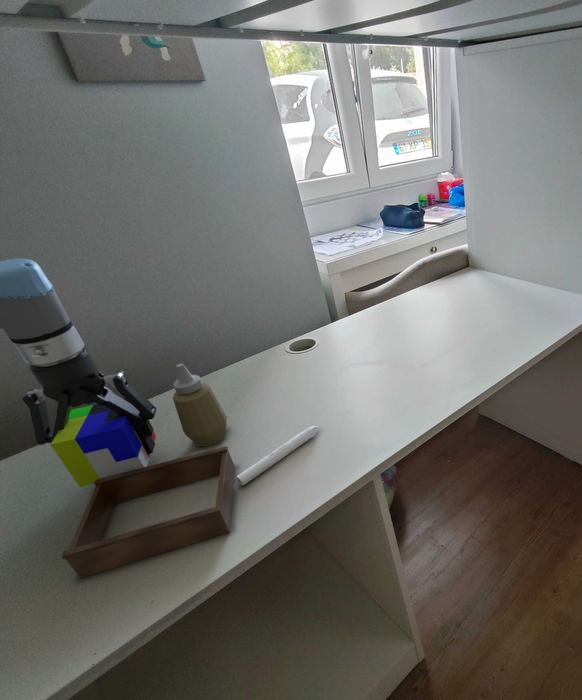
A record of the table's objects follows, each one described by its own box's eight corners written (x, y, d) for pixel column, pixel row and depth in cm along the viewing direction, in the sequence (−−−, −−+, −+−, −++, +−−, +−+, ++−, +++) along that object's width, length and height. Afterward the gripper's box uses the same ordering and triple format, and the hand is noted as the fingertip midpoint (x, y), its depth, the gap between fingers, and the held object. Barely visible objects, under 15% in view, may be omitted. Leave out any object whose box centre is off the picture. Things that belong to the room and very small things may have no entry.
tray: (79, 579, 66) (61, 556, 64) (109, 501, 79) (95, 479, 76) (230, 532, 72) (219, 510, 70) (236, 467, 85) (227, 445, 82)
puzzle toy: (145, 470, 80) (121, 427, 75) (80, 487, 78) (50, 444, 72) (156, 436, 89) (135, 395, 83) (97, 450, 86) (71, 409, 80)
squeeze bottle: (180, 447, 91) (144, 374, 81) (208, 422, 97) (178, 352, 88) (213, 453, 89) (180, 379, 80) (240, 427, 95) (212, 356, 86)
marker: (316, 428, 94) (314, 419, 93) (323, 431, 93) (320, 423, 92) (237, 483, 82) (234, 473, 80) (244, 487, 81) (240, 478, 79)
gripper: (-45, 385, 65) (36, 490, 76) (132, 351, 72) (183, 452, 83) (-19, 360, 71) (53, 461, 82) (143, 331, 78) (189, 428, 89)
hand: (118, 457), depth 83 cm, fingers closed on puzzle toy, 10 cm apart
